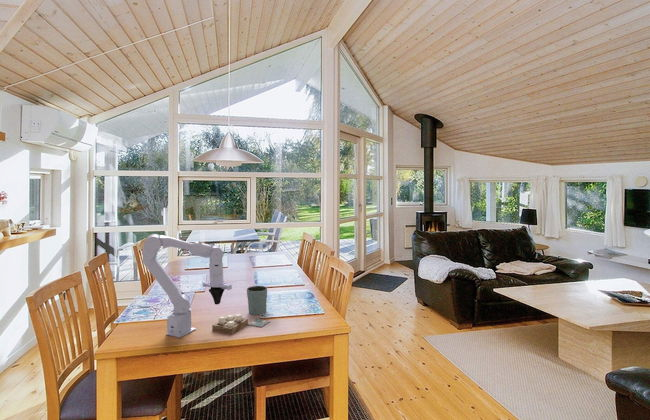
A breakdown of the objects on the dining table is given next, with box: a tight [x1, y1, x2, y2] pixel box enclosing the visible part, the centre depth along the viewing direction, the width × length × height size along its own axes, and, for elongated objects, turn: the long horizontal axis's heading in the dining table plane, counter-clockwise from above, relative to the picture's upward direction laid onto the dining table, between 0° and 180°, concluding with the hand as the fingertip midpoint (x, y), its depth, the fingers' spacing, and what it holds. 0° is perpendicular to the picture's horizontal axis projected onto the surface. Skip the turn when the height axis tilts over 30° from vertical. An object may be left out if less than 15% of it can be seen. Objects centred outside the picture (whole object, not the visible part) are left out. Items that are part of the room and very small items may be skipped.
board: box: [211, 315, 249, 335], centre depth 159 cm, size 12×10×2 cm
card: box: [247, 318, 271, 328], centre depth 164 cm, size 7×7×1 cm
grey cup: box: [246, 285, 268, 316], centre depth 178 cm, size 10×10×12 cm
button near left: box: [218, 316, 226, 325], centre depth 157 cm, size 3×3×3 cm
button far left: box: [226, 314, 234, 321], centre depth 162 cm, size 3×3×3 cm
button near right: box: [228, 321, 234, 327], centre depth 155 cm, size 3×3×3 cm
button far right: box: [235, 313, 243, 323], centre depth 160 cm, size 3×3×3 cm
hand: (217, 303), depth 159 cm, fingers closed
